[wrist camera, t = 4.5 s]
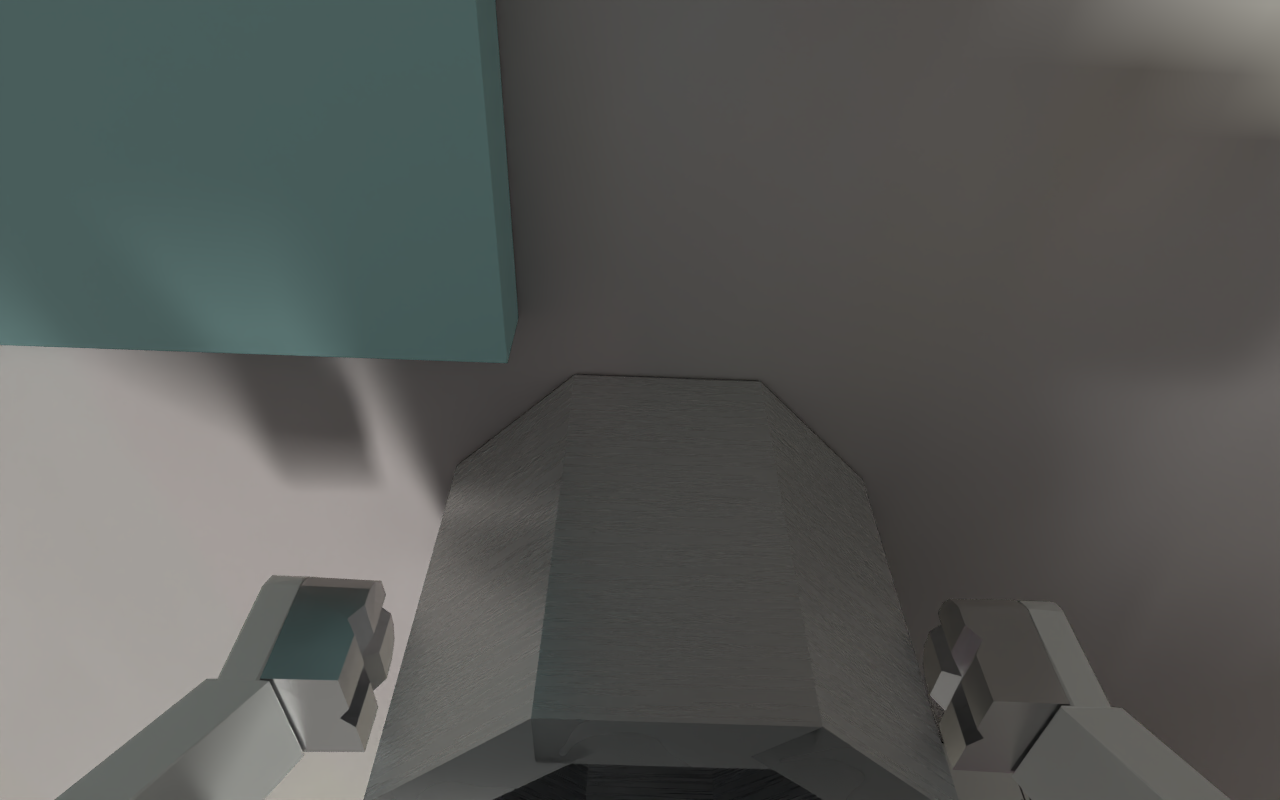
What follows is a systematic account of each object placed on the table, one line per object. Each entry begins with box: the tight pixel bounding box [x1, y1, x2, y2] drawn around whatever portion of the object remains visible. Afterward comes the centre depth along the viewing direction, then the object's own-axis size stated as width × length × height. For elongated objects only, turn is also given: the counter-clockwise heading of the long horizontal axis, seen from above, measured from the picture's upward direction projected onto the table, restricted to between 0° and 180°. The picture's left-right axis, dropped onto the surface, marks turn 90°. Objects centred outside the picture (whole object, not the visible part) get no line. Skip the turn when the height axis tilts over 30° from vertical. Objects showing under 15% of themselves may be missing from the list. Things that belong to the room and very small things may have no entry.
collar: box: [364, 375, 958, 800], centre depth 11 cm, size 6×6×5 cm
